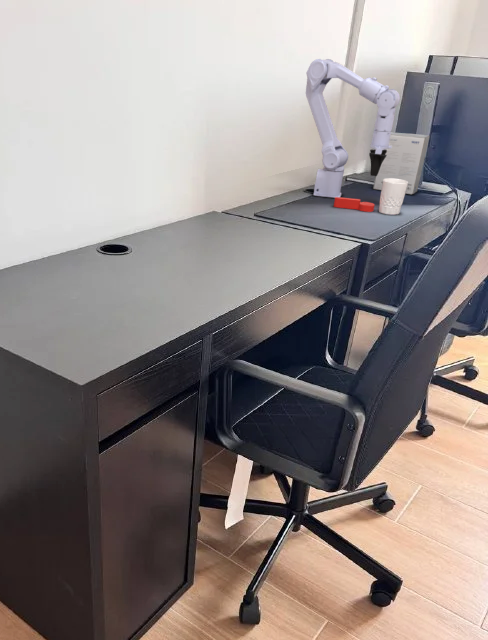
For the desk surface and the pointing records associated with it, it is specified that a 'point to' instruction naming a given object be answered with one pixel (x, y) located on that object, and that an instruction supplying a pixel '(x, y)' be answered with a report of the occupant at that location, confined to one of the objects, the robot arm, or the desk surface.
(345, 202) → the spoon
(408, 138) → the hard drive box
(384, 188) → the white cup
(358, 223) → the desk surface
